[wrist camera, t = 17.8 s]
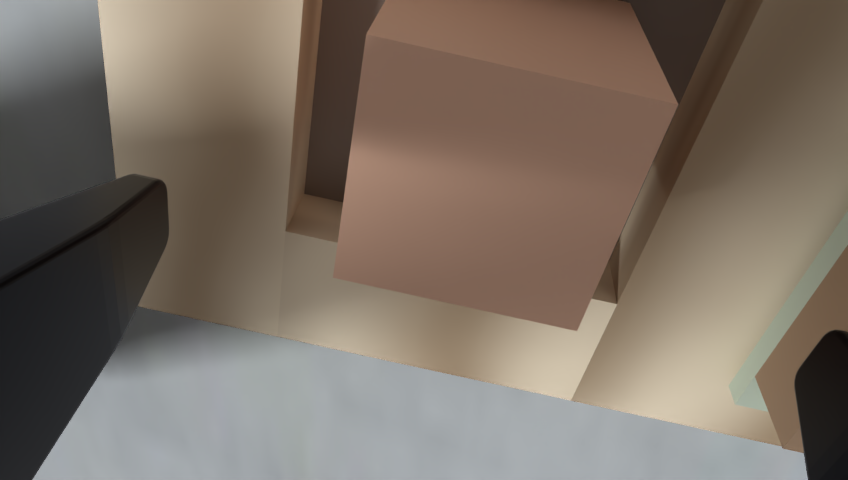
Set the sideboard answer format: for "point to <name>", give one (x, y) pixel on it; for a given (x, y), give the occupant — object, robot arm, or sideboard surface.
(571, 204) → the block
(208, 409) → the sideboard surface
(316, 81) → the puzzle board
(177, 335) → the sideboard surface
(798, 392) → the robot arm
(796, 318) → the cover
